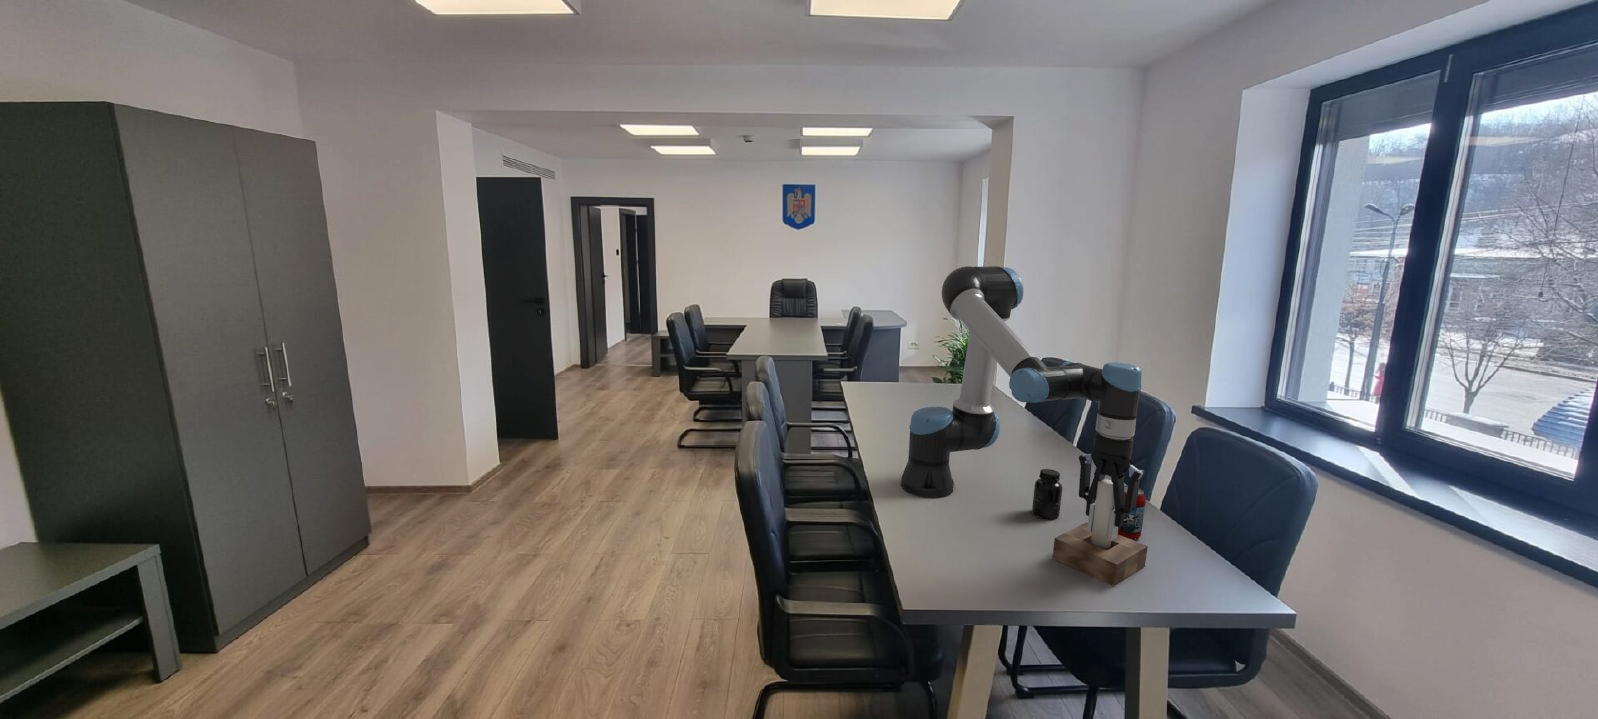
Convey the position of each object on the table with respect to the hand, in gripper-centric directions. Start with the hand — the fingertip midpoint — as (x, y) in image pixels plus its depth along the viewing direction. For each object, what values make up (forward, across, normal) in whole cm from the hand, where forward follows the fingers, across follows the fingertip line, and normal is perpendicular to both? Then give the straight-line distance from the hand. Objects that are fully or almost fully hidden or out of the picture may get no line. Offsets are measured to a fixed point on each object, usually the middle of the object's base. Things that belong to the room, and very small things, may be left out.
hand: (1101, 534), depth 135 cm
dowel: (+4, 0, 0) cm, 4 cm away
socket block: (+7, 0, 0) cm, 7 cm away
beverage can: (+7, -3, +19) cm, 21 cm away
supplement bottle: (+7, -21, +13) cm, 26 cm away
